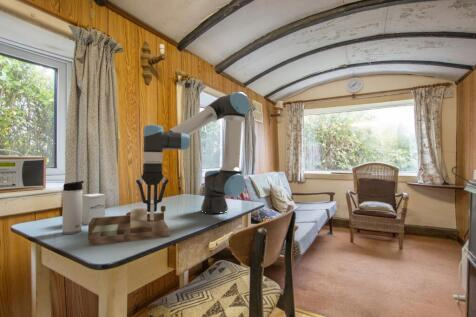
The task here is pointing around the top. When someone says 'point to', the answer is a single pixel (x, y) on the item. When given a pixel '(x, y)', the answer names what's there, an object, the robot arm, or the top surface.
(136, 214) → the beech block
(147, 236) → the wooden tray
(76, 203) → the travel mug
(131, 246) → the top surface
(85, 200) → the supplement box
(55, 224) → the top surface
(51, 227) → the top surface
